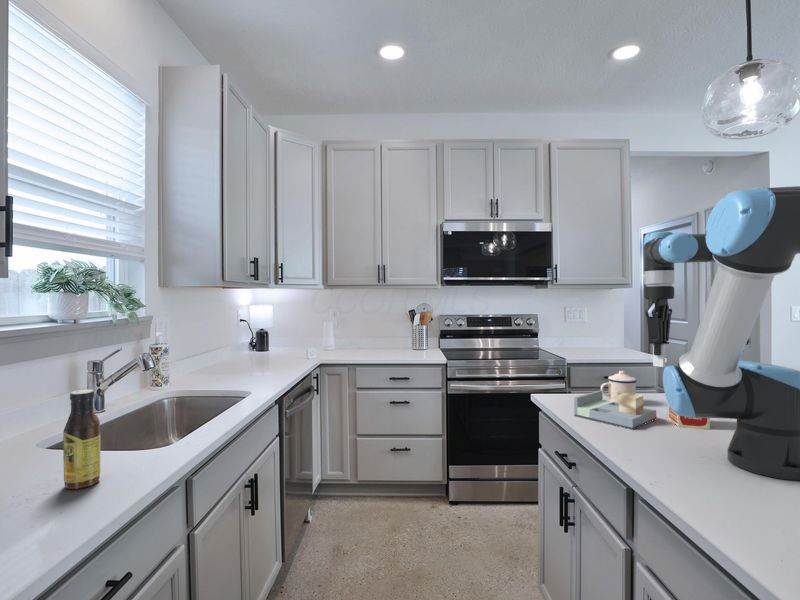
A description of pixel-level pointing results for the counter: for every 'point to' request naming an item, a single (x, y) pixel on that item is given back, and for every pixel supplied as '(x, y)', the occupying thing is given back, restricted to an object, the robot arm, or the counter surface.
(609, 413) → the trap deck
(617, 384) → the teacup with lid
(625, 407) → the maple block
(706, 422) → the milk carton
